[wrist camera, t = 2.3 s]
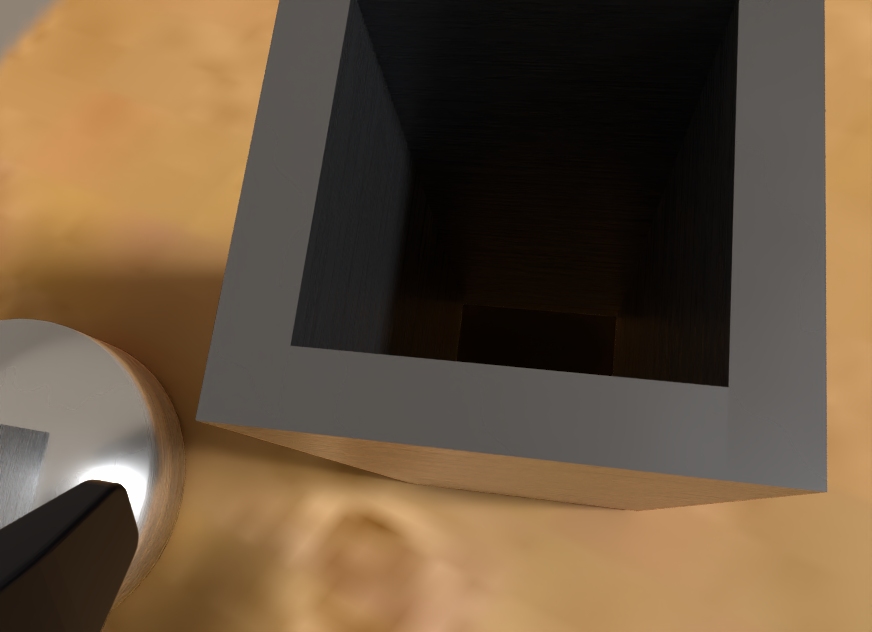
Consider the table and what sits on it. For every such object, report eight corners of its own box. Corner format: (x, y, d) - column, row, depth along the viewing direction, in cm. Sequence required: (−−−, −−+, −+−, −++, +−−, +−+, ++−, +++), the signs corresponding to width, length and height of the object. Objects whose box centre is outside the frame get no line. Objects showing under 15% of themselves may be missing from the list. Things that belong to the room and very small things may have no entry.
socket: (637, 510, 18) (826, 492, 6) (410, 483, 19) (195, 419, 7) (649, 289, 20) (824, -74, 8) (437, 273, 20) (294, -75, 8)
